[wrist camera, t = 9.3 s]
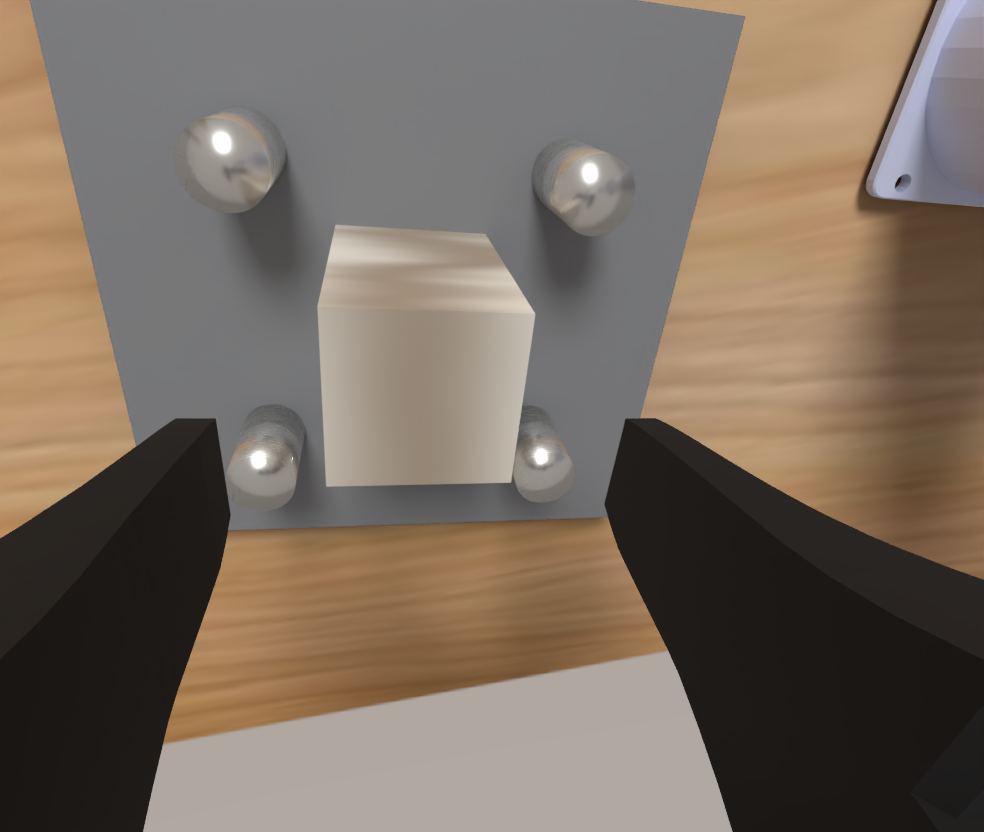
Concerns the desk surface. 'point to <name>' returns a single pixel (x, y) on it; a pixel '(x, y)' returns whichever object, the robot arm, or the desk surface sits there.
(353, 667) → the desk surface
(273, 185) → the peg board
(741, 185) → the desk surface
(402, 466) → the cream block
